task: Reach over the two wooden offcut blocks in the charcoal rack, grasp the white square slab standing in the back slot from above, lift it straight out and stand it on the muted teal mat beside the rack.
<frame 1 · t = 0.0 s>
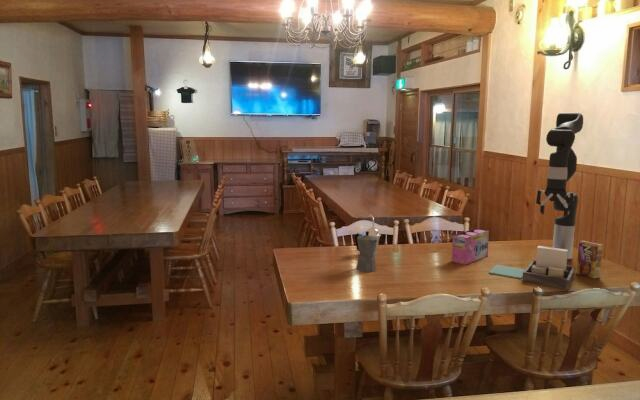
hand: (553, 215, 207), 29 cm above the table, tool pointing down, fingers open, 8 cm apart
coffeepot: (364, 268, 227), on the table
birch offcut: (555, 283, 209), resting in rack
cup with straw: (372, 253, 253), on the table
candy box: (587, 275, 220), on the table
pink multipack: (470, 259, 245), on the table
teal mat: (508, 272, 224), on the table
white square slab: (549, 276, 218), resting in rack
grey mdf offcut: (538, 280, 213), resting in rack
rack: (548, 279, 215), on the table
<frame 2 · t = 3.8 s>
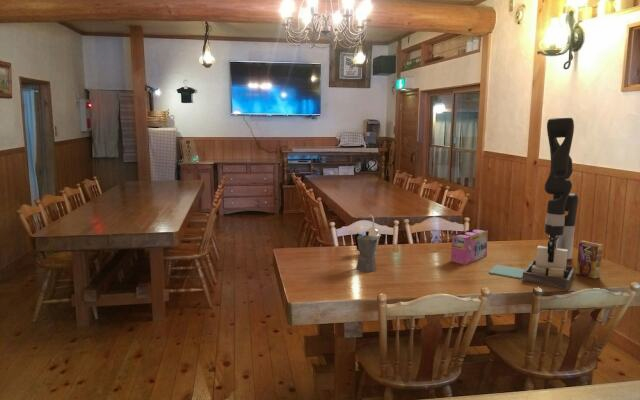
hand: (551, 260, 217), 7 cm above the table, tool pointing down, fingers closed on white square slab, 3 cm apart
white square slab: (549, 276, 218), resting in rack, touching gripper
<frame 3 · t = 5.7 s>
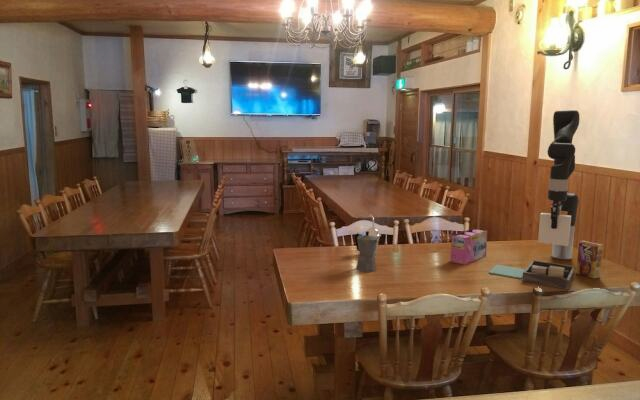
hand: (554, 227, 215), 23 cm above the table, tool pointing down, fingers closed on white square slab, 3 cm apart
white square slab: (553, 243, 216), point 15 cm above the table, touching gripper
everything else where it was.
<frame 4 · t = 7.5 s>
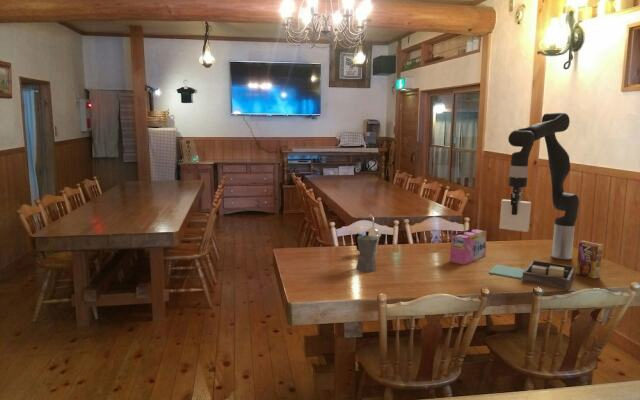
hand: (515, 213, 219), 28 cm above the table, tool pointing down, fingers closed on white square slab, 3 cm apart
white square slab: (513, 229, 220), point 20 cm above the table, touching gripper
everything else where it was.
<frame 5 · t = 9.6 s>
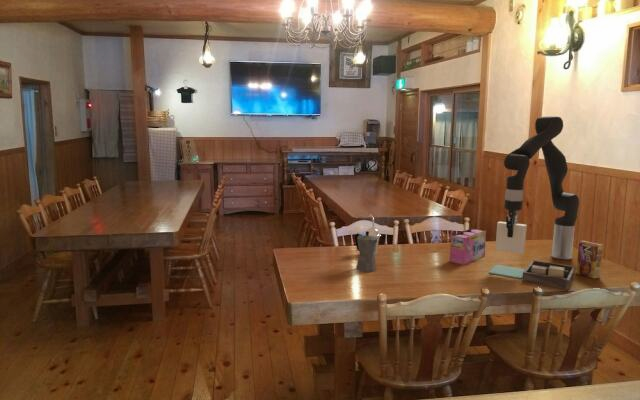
hand: (510, 236, 221), 17 cm above the table, tool pointing down, fingers closed on white square slab, 3 cm apart
white square slab: (509, 251, 222), point 10 cm above the table, touching gripper
when the fingers open (9 cm above the table, at t = 11.4 s): white square slab drops 1 cm, resting on teal mat.
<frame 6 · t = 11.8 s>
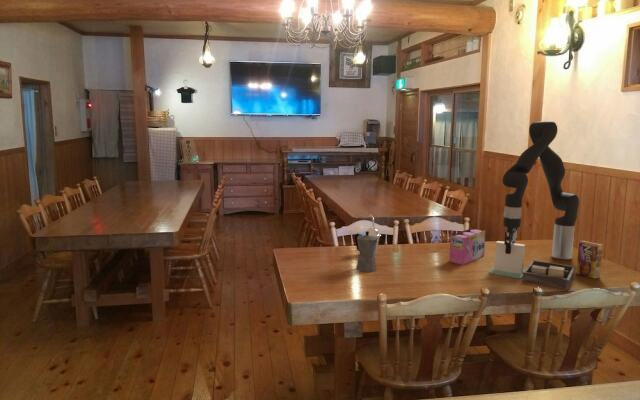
hand: (509, 251, 222), 10 cm above the table, tool pointing down, fingers open, 6 cm apart
white square slab: (508, 270, 224), point 1 cm above the table, touching teal mat
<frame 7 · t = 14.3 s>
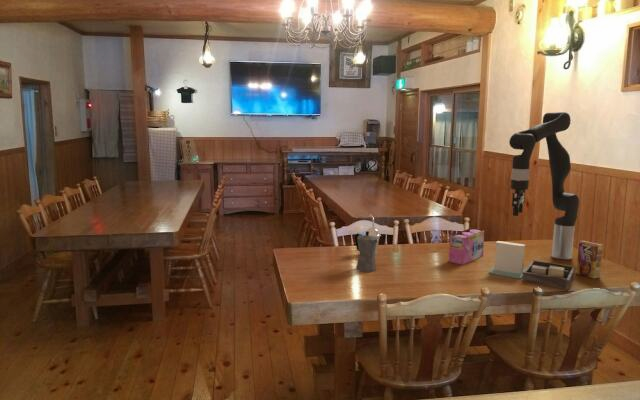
hand: (517, 214, 220), 27 cm above the table, tool pointing down, fingers open, 8 cm apart
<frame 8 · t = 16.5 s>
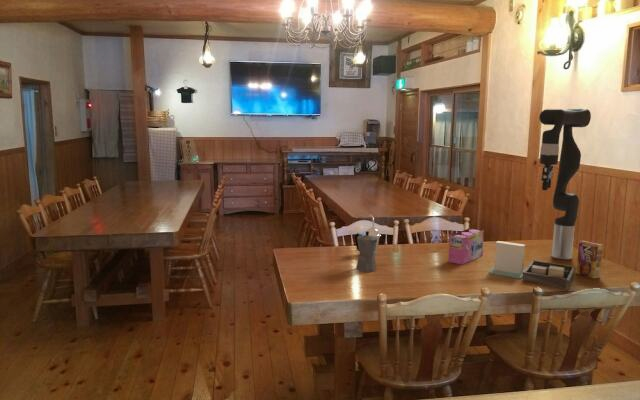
hand: (546, 189, 223), 38 cm above the table, tool pointing down, fingers open, 8 cm apart
at the end: white square slab inside the target area (0.1 cm from its centre), point 0.6 cm above the table; white square slab tilted 0°; birch offcut moved 0.1 cm from its start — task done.
